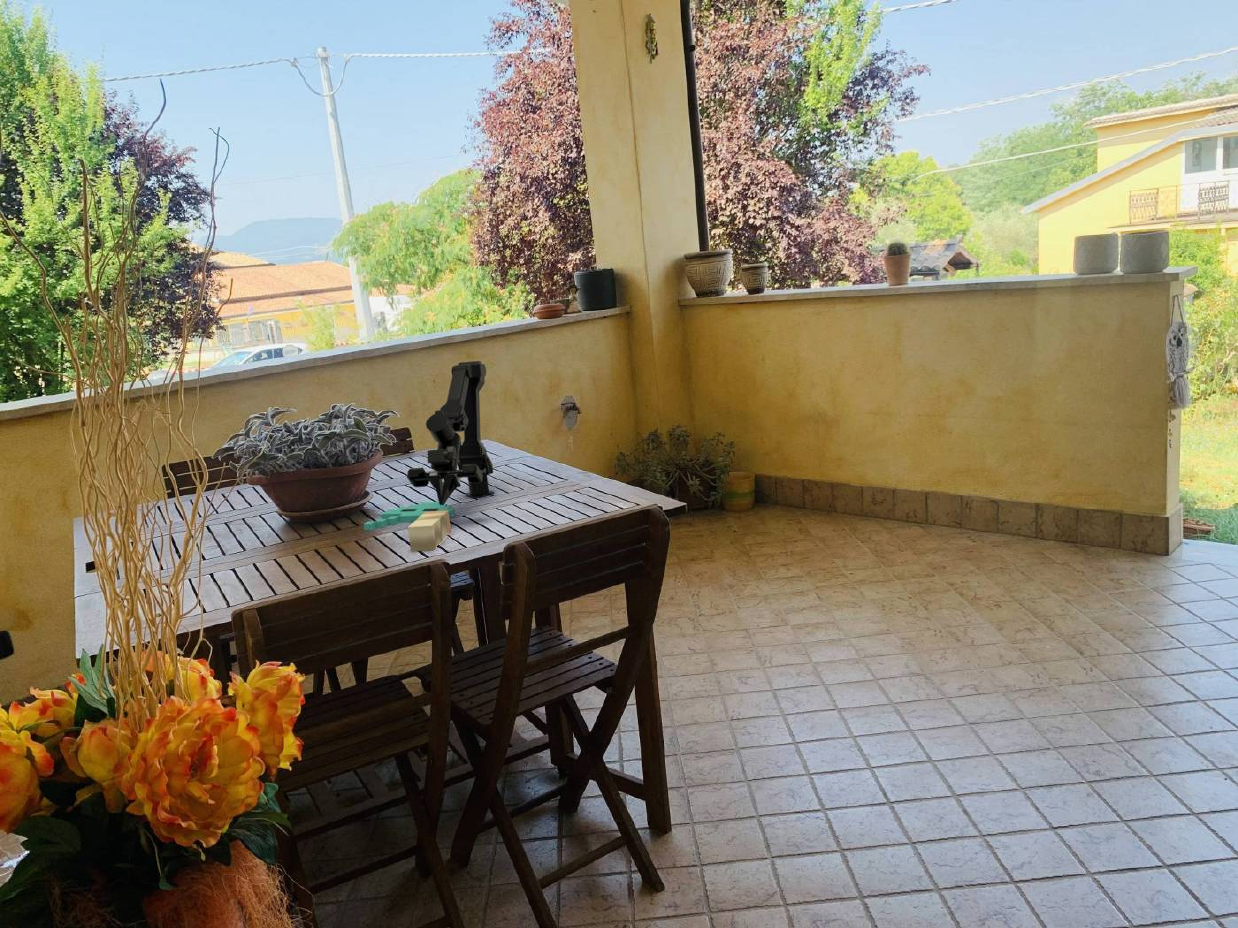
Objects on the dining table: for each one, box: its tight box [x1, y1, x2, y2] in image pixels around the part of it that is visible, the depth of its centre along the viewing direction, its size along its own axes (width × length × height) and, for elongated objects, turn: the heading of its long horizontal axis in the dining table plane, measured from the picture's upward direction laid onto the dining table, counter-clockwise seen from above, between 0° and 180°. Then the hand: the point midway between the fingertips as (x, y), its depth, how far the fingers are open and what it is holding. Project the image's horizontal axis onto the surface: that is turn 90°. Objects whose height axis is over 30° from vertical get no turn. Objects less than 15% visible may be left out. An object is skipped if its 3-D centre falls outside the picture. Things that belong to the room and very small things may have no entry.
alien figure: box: [363, 501, 456, 531], centre depth 247 cm, size 20×2×20 cm
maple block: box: [407, 511, 452, 552], centre depth 224 cm, size 6×6×13 cm
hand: (441, 504), depth 233 cm, fingers closed
